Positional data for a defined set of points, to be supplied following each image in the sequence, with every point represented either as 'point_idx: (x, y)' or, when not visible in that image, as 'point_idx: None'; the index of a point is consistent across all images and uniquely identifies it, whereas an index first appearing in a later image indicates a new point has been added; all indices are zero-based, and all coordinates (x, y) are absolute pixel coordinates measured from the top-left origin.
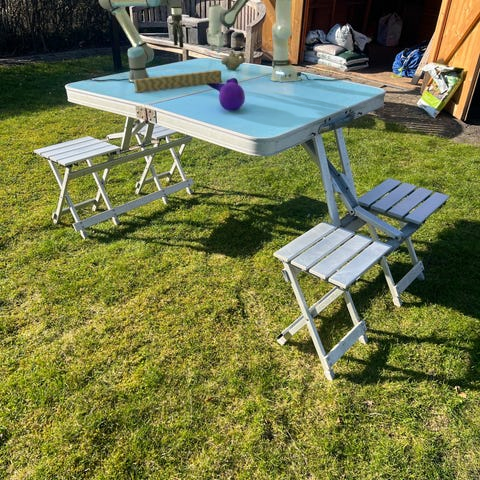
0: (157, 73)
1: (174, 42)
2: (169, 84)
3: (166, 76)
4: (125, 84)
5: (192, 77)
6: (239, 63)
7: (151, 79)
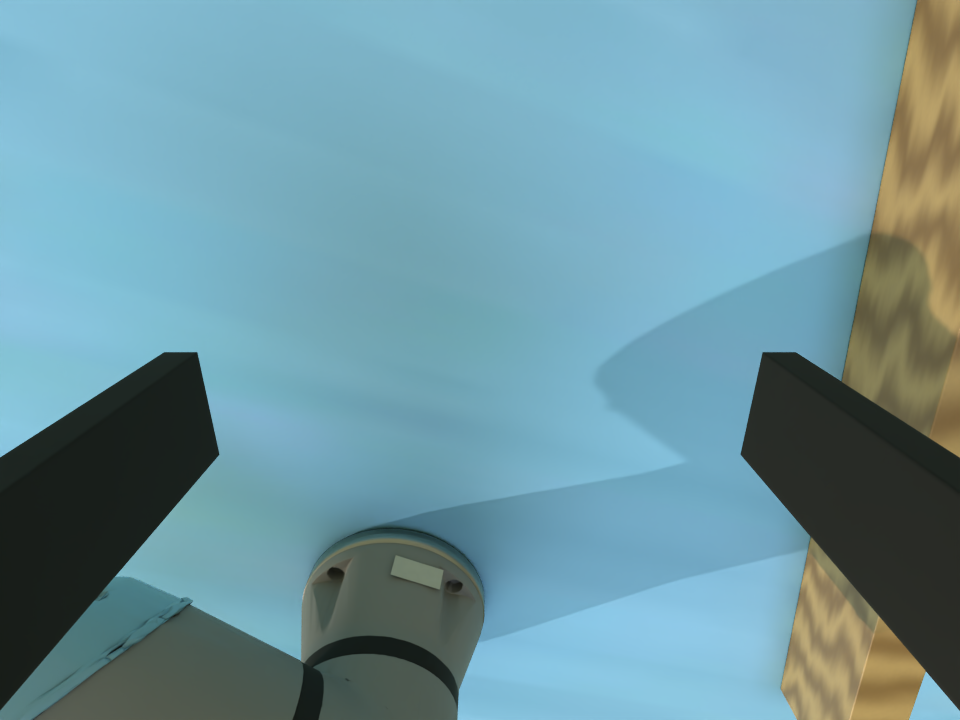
0: (47, 379)
1: (169, 499)
2: None
3: None
4: (479, 690)
5: None
6: None
7: (916, 684)
